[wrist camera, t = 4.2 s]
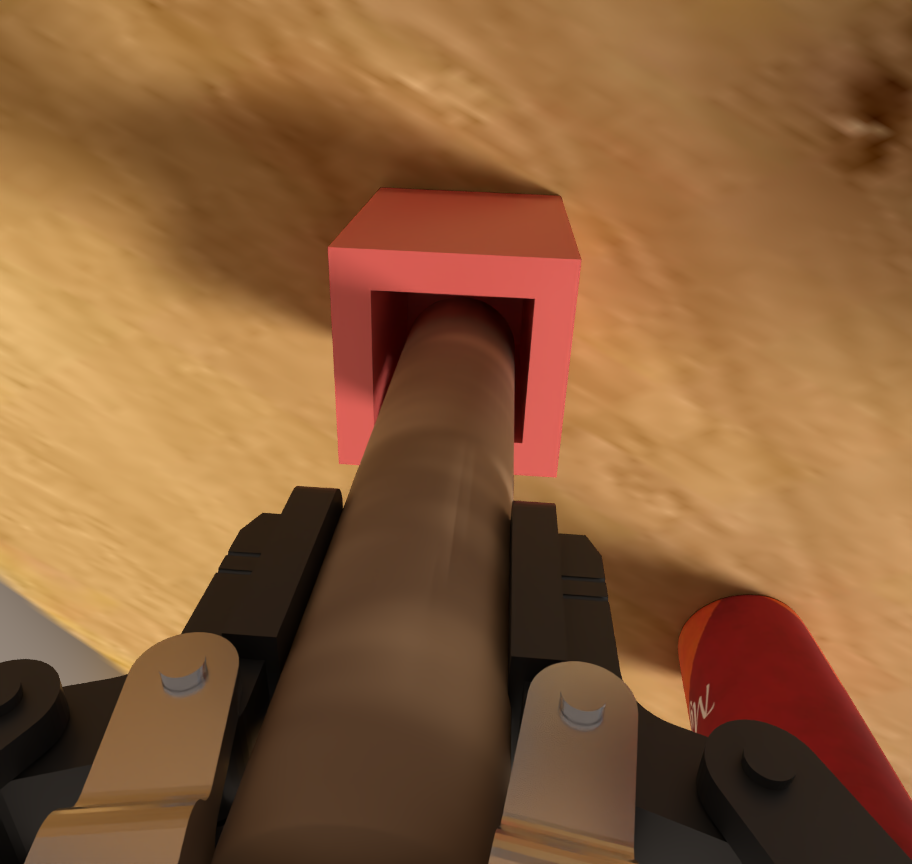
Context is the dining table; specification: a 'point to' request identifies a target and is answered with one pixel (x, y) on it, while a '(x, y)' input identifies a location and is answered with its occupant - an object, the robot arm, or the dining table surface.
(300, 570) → the robot arm
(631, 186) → the dining table surface
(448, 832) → the dowel
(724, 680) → the paper cup
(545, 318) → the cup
